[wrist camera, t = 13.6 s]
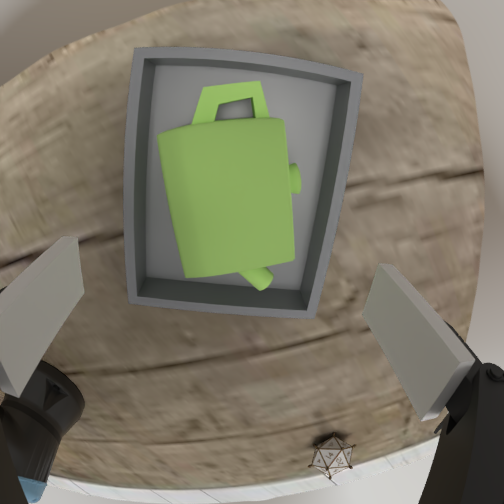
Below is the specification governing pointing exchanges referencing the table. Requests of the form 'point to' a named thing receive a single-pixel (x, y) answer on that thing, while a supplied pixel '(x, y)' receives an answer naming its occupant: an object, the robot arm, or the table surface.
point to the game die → (332, 456)
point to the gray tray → (299, 151)
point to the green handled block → (230, 188)
